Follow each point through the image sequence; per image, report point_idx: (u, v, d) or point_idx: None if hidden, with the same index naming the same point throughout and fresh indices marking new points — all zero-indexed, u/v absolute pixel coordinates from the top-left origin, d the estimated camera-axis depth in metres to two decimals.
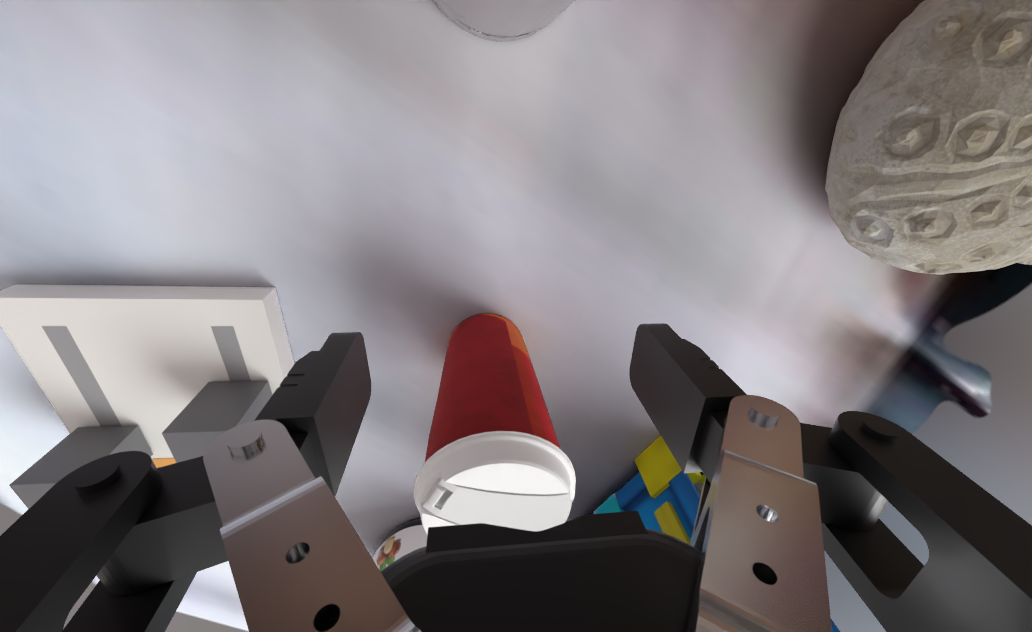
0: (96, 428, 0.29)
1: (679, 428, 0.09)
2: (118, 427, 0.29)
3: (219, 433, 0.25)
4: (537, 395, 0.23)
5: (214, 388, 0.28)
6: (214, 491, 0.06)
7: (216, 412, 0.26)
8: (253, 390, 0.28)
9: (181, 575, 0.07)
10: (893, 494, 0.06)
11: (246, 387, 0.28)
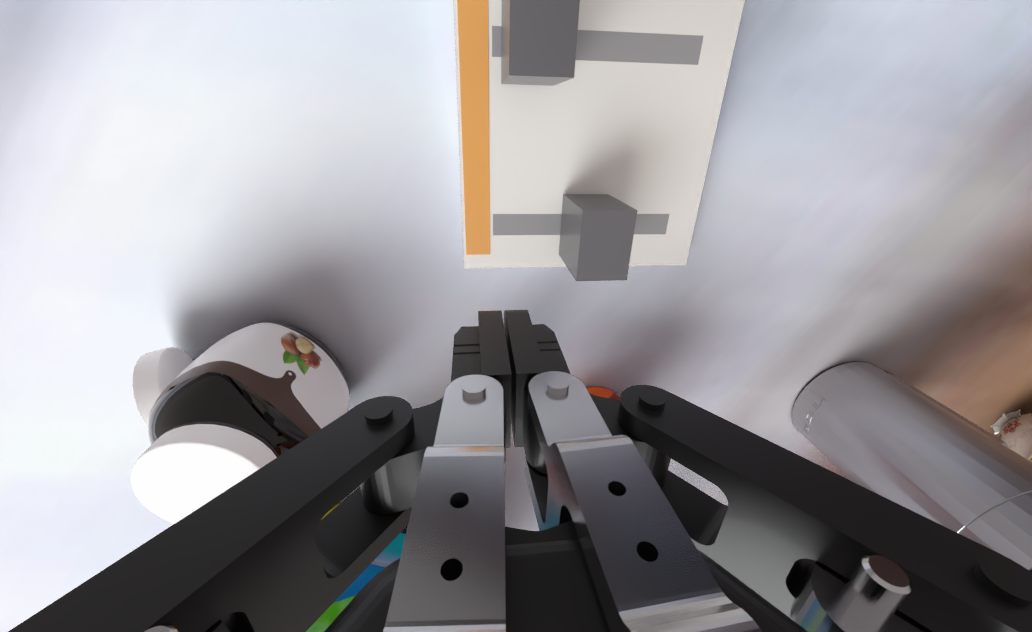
0: None
1: (513, 405, 0.10)
2: None
3: (625, 266, 0.23)
4: None
5: None
6: (440, 417, 0.07)
7: None
8: None
9: None
10: (688, 460, 0.07)
11: None
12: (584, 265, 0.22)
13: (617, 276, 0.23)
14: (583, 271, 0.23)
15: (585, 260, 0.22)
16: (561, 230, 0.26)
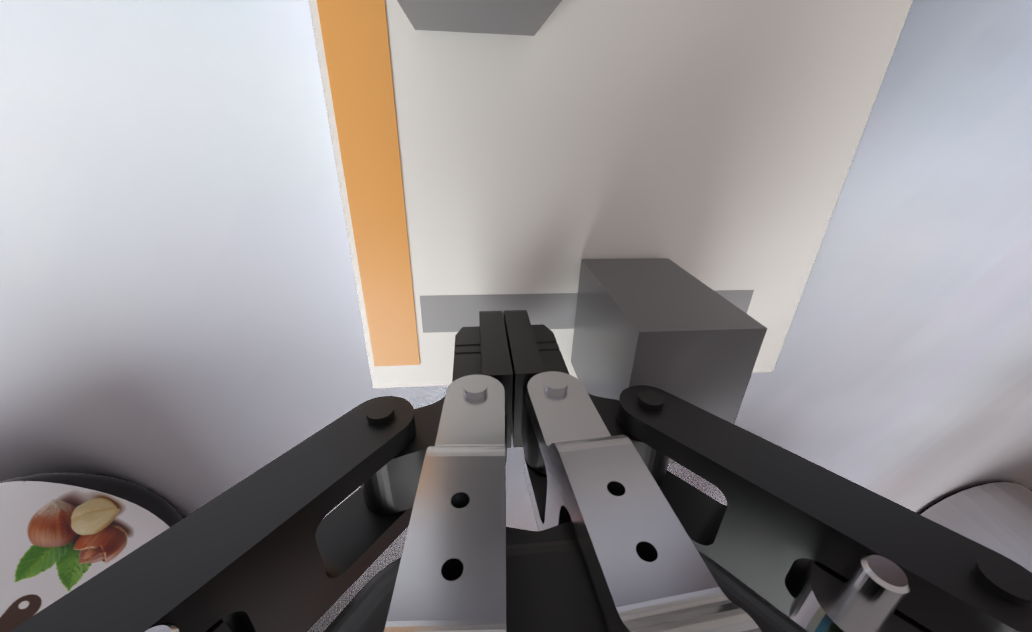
0: None
1: (511, 405, 0.10)
2: None
3: None
4: None
5: None
6: (442, 417, 0.07)
7: None
8: None
9: None
10: (687, 460, 0.07)
11: None
12: None
13: None
14: None
15: None
16: (577, 324, 0.14)
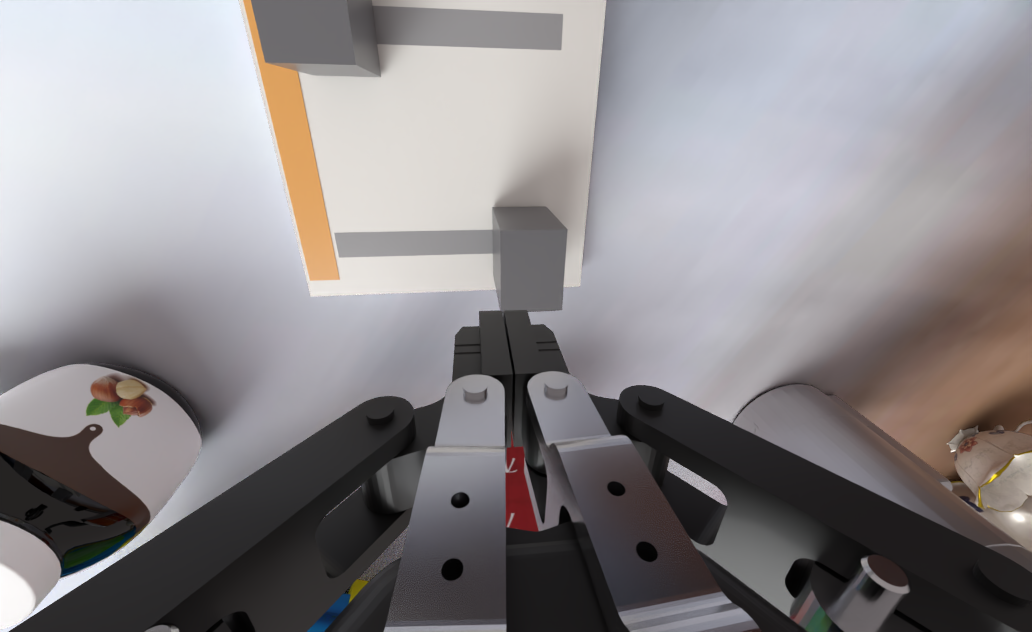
0: None
1: (511, 405, 0.10)
2: (376, 45, 0.18)
3: (559, 295, 0.19)
4: None
5: None
6: (441, 417, 0.07)
7: None
8: None
9: None
10: (687, 460, 0.07)
11: None
12: (509, 295, 0.19)
13: (550, 306, 0.19)
14: (508, 301, 0.19)
15: (509, 289, 0.19)
16: (493, 249, 0.22)
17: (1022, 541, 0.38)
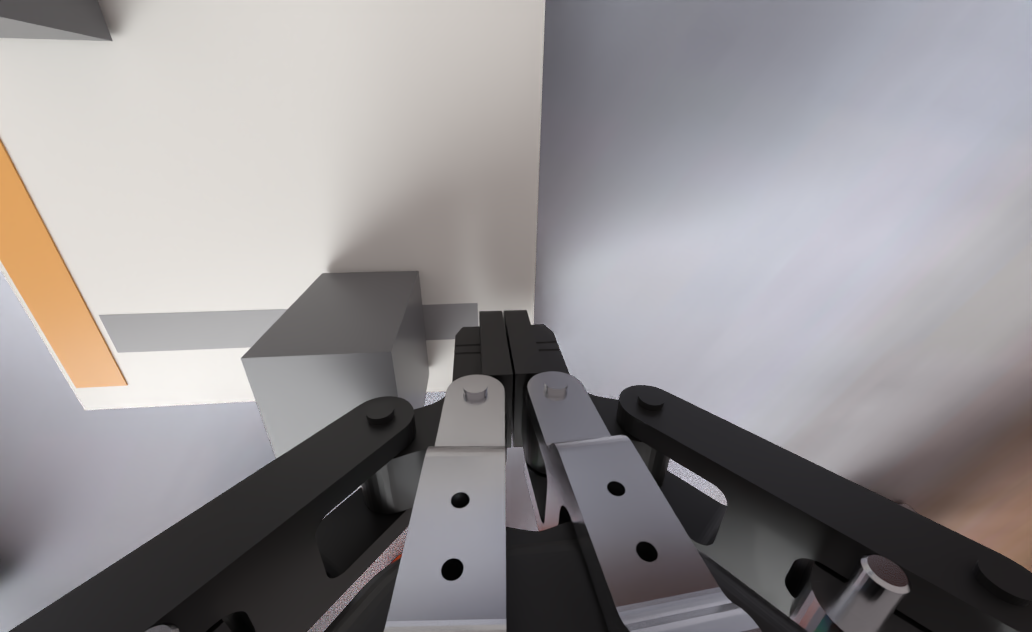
0: None
1: (511, 405, 0.10)
2: None
3: None
4: None
5: (418, 303, 0.12)
6: (442, 417, 0.07)
7: (412, 385, 0.11)
8: (425, 378, 0.13)
9: None
10: (687, 460, 0.07)
11: (424, 358, 0.13)
12: None
13: None
14: None
15: None
16: None
17: None
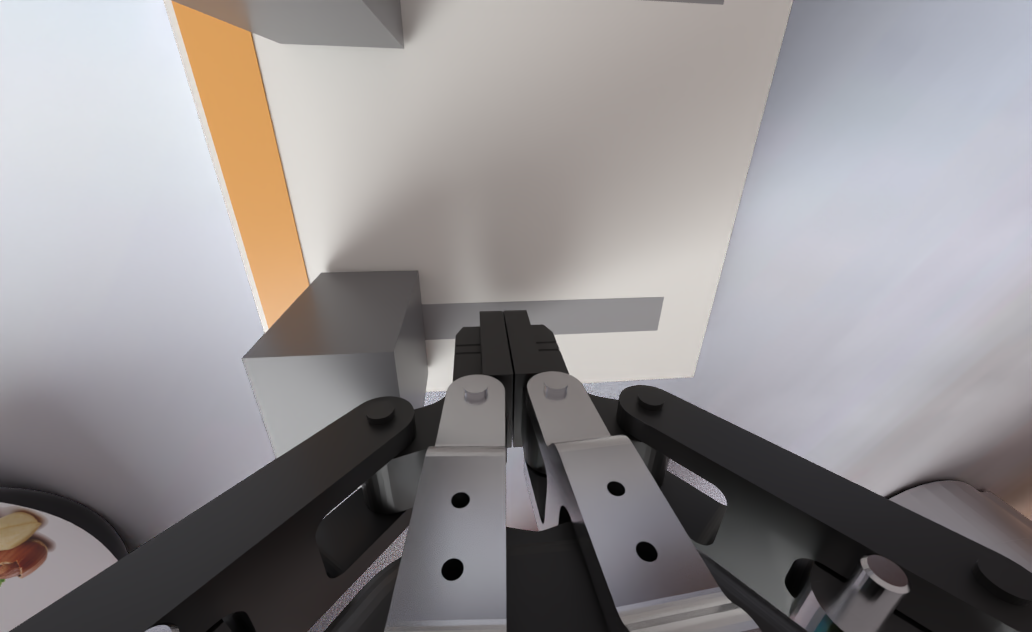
0: None
1: (511, 405, 0.10)
2: None
3: None
4: None
5: (418, 302, 0.12)
6: (442, 416, 0.07)
7: (413, 385, 0.11)
8: (424, 378, 0.13)
9: None
10: (687, 460, 0.07)
11: (424, 357, 0.13)
12: None
13: None
14: None
15: None
16: None
17: None
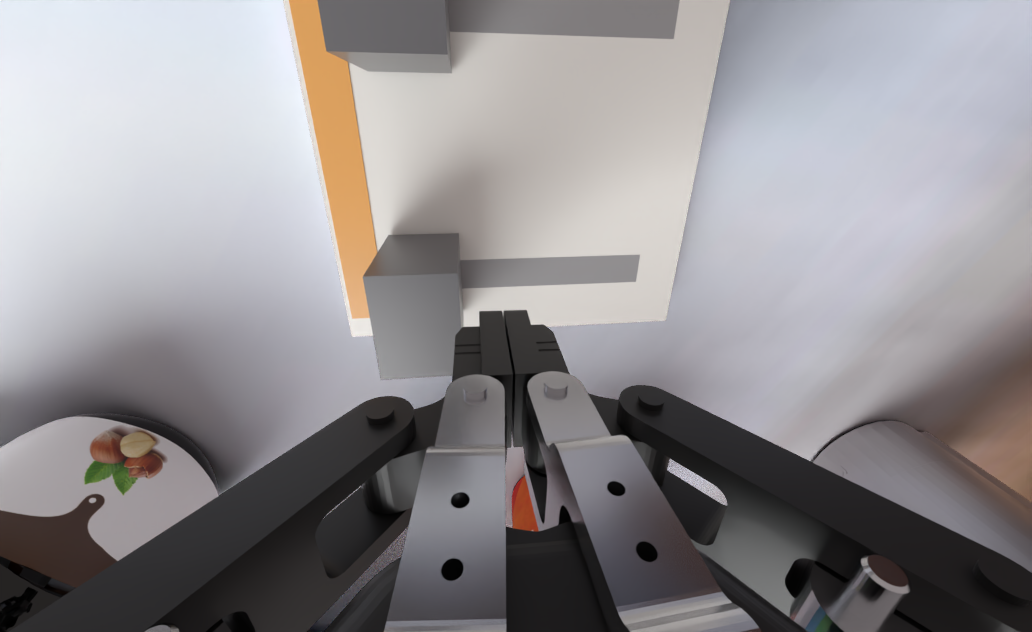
0: None
1: (511, 405, 0.10)
2: (449, 32, 0.14)
3: None
4: None
5: None
6: (442, 416, 0.07)
7: (461, 310, 0.15)
8: None
9: None
10: (687, 460, 0.07)
11: None
12: (388, 357, 0.14)
13: (447, 370, 0.15)
14: (389, 366, 0.14)
15: (388, 350, 0.14)
16: None
17: None
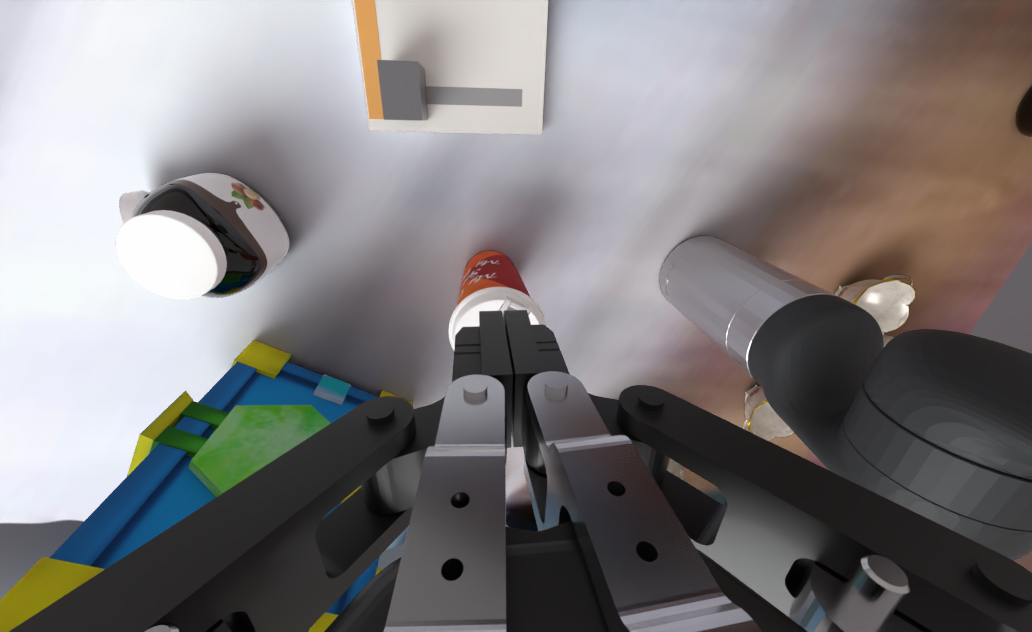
0: None
1: (512, 405, 0.10)
2: None
3: (419, 109, 0.31)
4: None
5: (424, 78, 0.34)
6: (441, 417, 0.07)
7: (422, 95, 0.32)
8: (426, 113, 0.35)
9: None
10: (687, 460, 0.07)
11: (426, 105, 0.35)
12: (387, 106, 0.31)
13: (414, 117, 0.31)
14: (387, 111, 0.31)
15: (387, 102, 0.31)
16: None
17: None
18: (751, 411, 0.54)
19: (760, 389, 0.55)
